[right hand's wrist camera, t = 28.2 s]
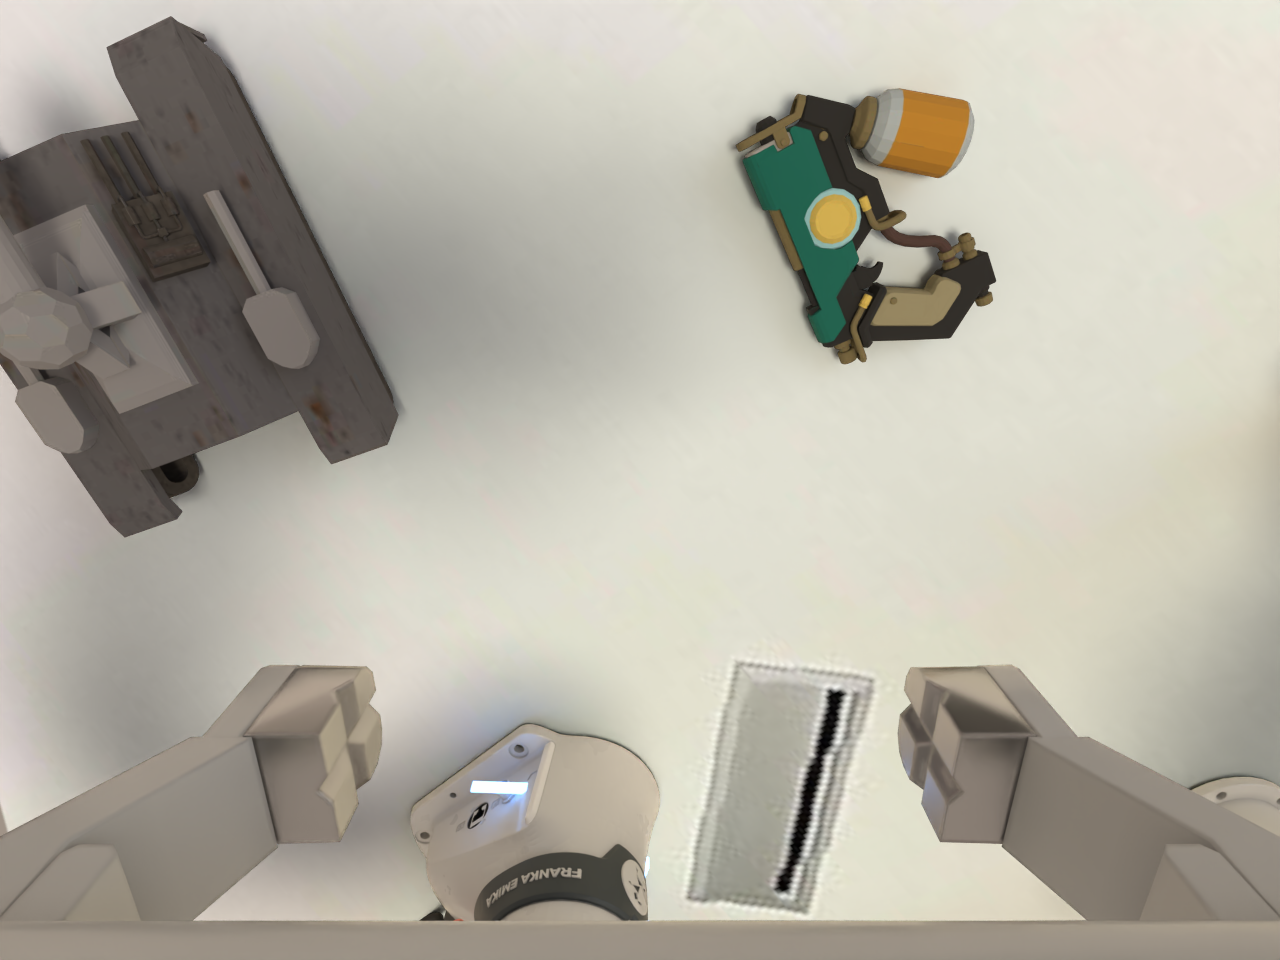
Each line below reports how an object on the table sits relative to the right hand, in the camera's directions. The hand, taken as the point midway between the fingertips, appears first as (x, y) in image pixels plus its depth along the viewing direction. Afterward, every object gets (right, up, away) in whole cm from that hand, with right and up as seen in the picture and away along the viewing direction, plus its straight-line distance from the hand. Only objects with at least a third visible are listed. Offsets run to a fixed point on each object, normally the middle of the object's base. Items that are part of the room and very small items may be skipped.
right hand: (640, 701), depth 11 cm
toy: (-30, +15, +36) cm, 50 cm away
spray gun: (+14, +20, +35) cm, 43 cm away
